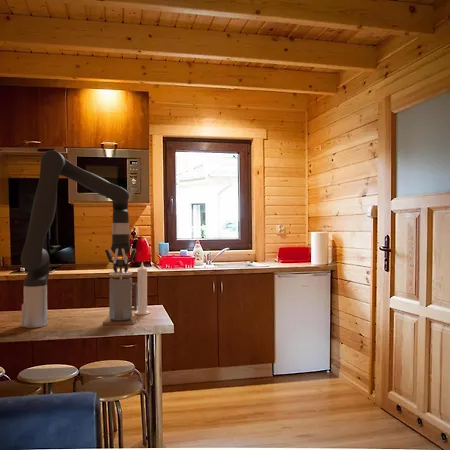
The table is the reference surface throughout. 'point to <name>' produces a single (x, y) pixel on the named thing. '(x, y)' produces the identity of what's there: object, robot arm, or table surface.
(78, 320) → the table surface
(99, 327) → the table surface
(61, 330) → the table surface
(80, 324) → the table surface
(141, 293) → the candle
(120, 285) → the press
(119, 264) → the plunger
